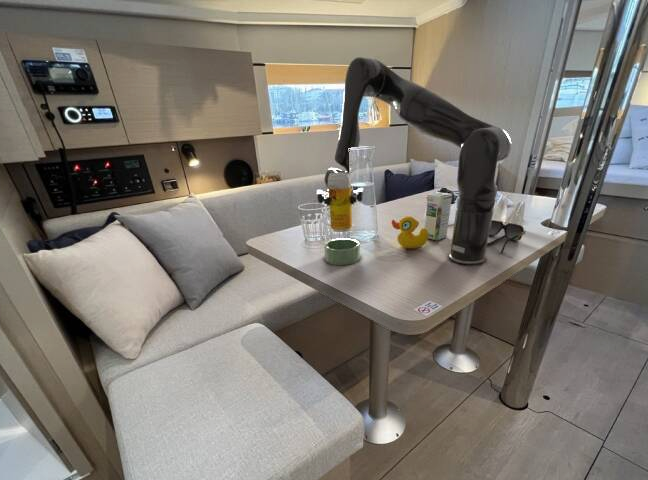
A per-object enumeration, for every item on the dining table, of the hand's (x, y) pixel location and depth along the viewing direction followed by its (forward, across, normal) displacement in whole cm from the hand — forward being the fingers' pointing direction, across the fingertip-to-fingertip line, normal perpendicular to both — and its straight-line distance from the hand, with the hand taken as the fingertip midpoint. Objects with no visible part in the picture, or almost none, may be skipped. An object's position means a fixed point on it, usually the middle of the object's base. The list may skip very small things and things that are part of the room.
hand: (340, 201), depth 85 cm
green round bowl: (-3, 0, +18) cm, 18 cm away
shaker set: (-27, +59, +18) cm, 67 cm away
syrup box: (-18, +32, +18) cm, 41 cm away
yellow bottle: (-2, 0, +9) cm, 9 cm away
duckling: (-9, +21, +18) cm, 29 cm away
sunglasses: (-11, +48, +18) cm, 53 cm away
